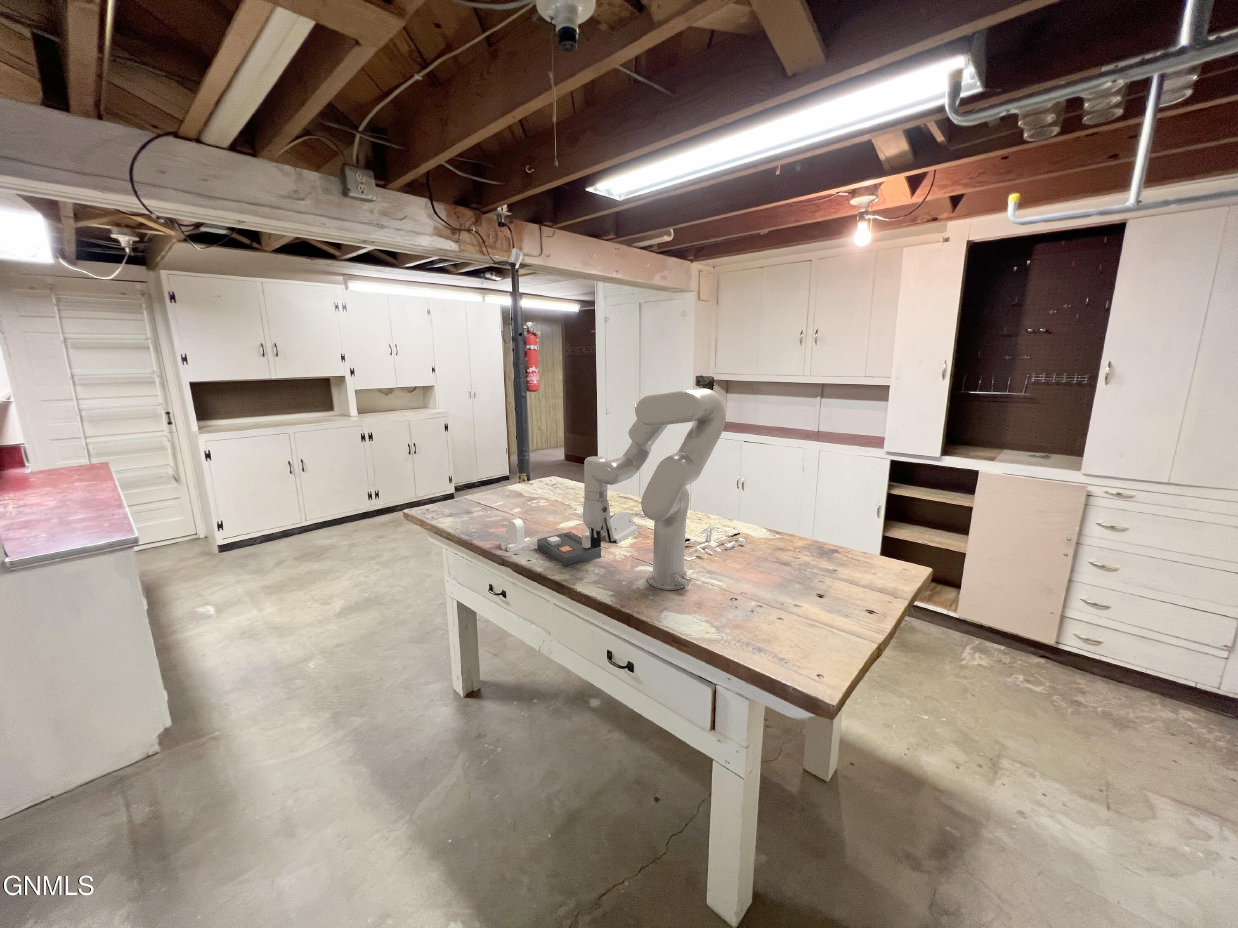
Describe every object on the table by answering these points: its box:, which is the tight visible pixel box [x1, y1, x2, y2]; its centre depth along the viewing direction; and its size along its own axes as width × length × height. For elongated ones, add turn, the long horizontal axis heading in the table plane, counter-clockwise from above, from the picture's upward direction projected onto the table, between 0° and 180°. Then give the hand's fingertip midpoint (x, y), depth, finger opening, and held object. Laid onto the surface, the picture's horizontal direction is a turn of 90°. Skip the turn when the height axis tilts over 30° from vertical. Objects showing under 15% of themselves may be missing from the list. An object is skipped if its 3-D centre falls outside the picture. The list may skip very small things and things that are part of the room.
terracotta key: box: [559, 546, 573, 553], centre depth 161 cm, size 4×4×2 cm
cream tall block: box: [581, 532, 590, 548], centre depth 162 cm, size 2×3×4 cm
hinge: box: [604, 511, 640, 545], centre depth 184 cm, size 17×5×10 cm, turn 148°
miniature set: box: [684, 526, 746, 562], centre depth 172 cm, size 6×35×12 cm
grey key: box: [547, 536, 561, 546], centre depth 167 cm, size 4×4×2 cm
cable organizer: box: [500, 518, 531, 552], centre depth 172 cm, size 5×10×10 cm, turn 143°
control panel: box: [536, 531, 602, 568], centre depth 167 cm, size 20×14×4 cm
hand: (595, 547), depth 159 cm, fingers closed
